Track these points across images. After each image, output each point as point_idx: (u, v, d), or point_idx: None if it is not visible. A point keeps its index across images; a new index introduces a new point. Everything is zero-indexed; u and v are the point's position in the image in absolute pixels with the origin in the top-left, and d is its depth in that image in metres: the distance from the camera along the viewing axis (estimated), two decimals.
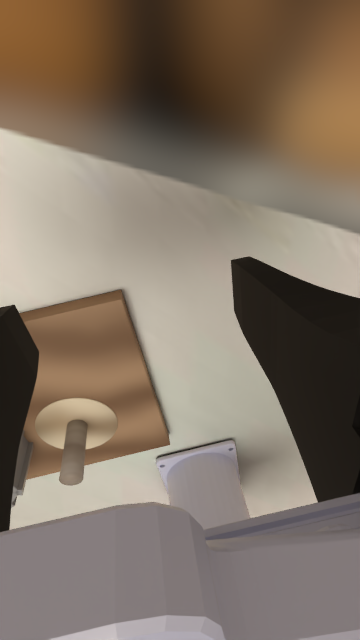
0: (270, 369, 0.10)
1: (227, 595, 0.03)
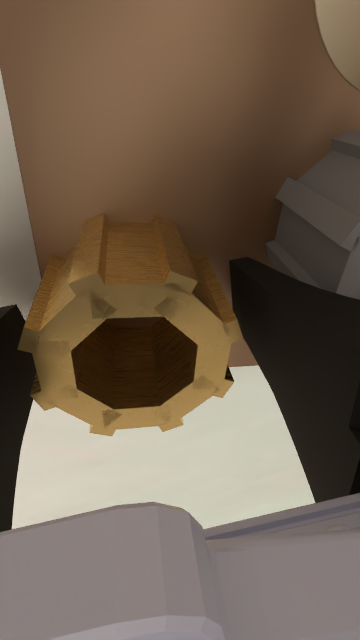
0: (268, 369, 0.10)
1: (227, 595, 0.03)
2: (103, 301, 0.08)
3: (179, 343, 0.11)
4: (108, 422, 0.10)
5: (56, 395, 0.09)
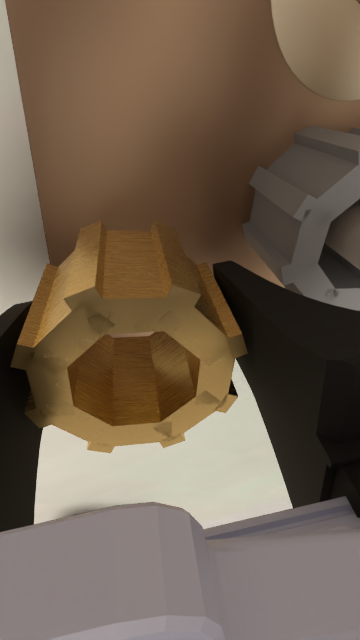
0: (249, 373, 0.10)
1: (228, 595, 0.03)
2: (101, 316, 0.07)
3: (180, 355, 0.11)
4: (106, 439, 0.10)
5: (52, 412, 0.09)
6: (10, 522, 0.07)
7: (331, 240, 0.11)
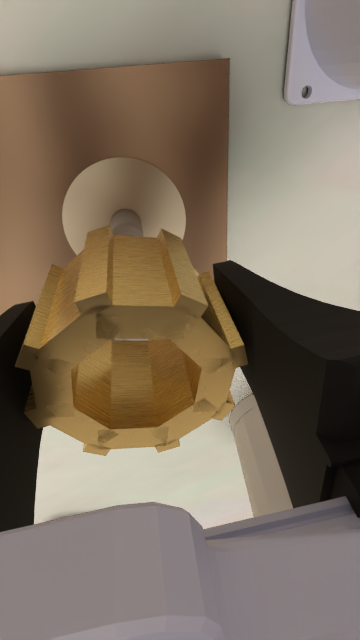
0: (249, 374, 0.10)
1: (227, 595, 0.03)
2: (109, 321, 0.07)
3: (179, 361, 0.11)
4: (103, 442, 0.10)
5: (51, 413, 0.09)
6: (10, 522, 0.07)
7: None
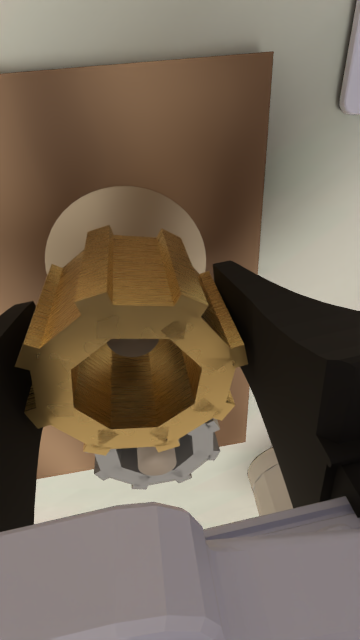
0: (249, 374, 0.10)
1: (227, 595, 0.03)
2: (109, 321, 0.07)
3: (179, 361, 0.11)
4: (103, 441, 0.10)
5: (51, 413, 0.09)
6: (10, 522, 0.07)
7: None
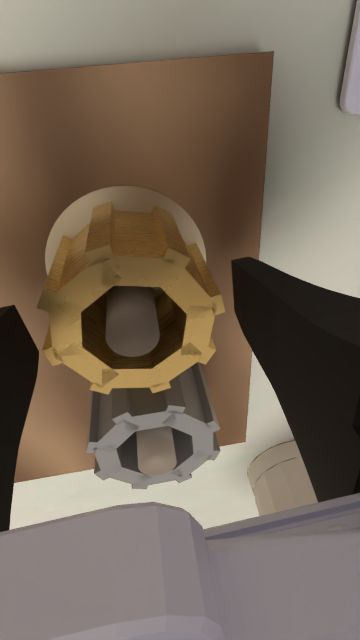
0: (270, 369, 0.10)
1: (227, 595, 0.03)
2: (112, 270, 0.09)
3: (170, 318, 0.13)
4: (106, 381, 0.12)
5: (64, 352, 0.11)
6: None
7: None
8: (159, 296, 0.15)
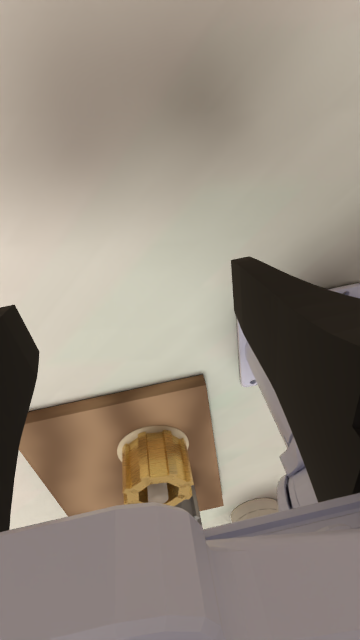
0: (270, 369, 0.10)
1: (227, 595, 0.03)
2: (149, 481, 0.26)
3: None
4: None
5: (132, 503, 0.27)
6: None
7: None
8: None
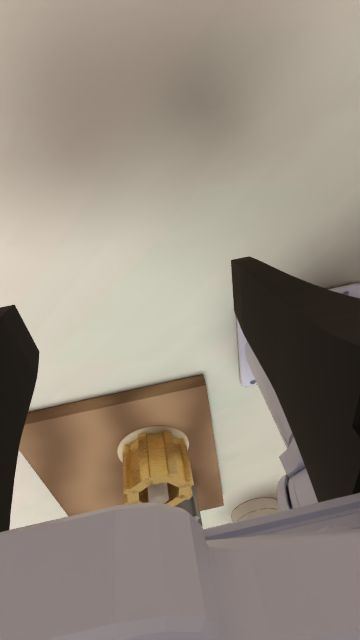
0: (270, 369, 0.10)
1: (227, 595, 0.02)
2: (149, 481, 0.26)
3: None
4: None
5: (132, 503, 0.27)
6: None
7: None
8: None
